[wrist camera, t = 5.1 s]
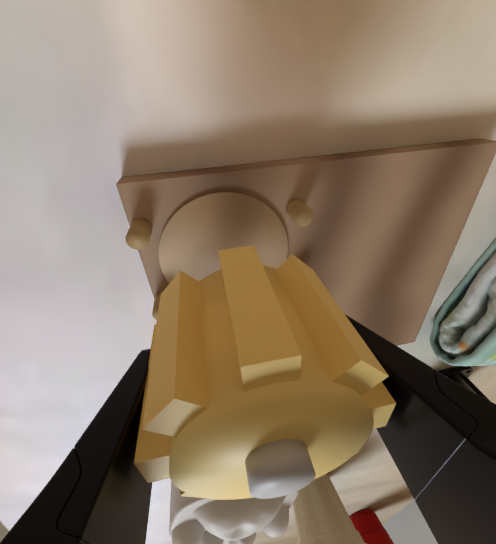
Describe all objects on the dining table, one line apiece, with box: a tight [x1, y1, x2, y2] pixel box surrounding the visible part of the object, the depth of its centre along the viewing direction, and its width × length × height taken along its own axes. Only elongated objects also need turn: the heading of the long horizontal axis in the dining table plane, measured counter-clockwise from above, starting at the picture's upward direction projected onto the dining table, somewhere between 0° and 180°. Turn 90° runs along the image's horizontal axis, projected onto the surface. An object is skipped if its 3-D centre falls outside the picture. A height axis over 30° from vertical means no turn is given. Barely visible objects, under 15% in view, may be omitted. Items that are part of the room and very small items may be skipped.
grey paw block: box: [169, 481, 298, 544], centre depth 25 cm, size 10×13×9 cm
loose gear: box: [134, 245, 396, 500], centre depth 9 cm, size 7×7×6 cm
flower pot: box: [293, 474, 367, 544], centre depth 38 cm, size 9×9×9 cm
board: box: [116, 139, 496, 346], centre depth 18 cm, size 20×16×3 cm
